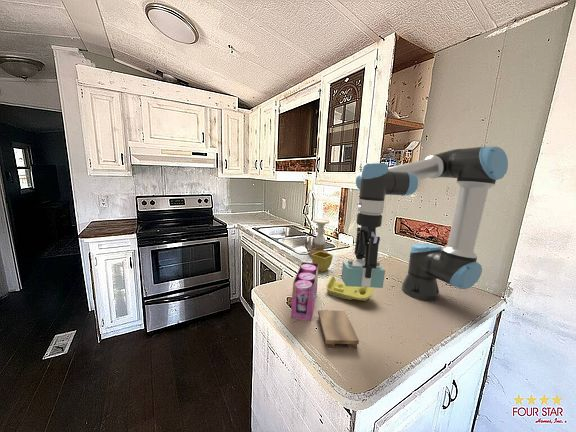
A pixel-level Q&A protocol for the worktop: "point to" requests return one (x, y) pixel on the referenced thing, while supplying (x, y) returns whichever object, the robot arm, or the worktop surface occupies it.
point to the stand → (337, 329)
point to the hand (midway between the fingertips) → (361, 281)
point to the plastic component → (348, 290)
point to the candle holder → (319, 237)
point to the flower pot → (322, 260)
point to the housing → (354, 274)
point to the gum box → (304, 291)
